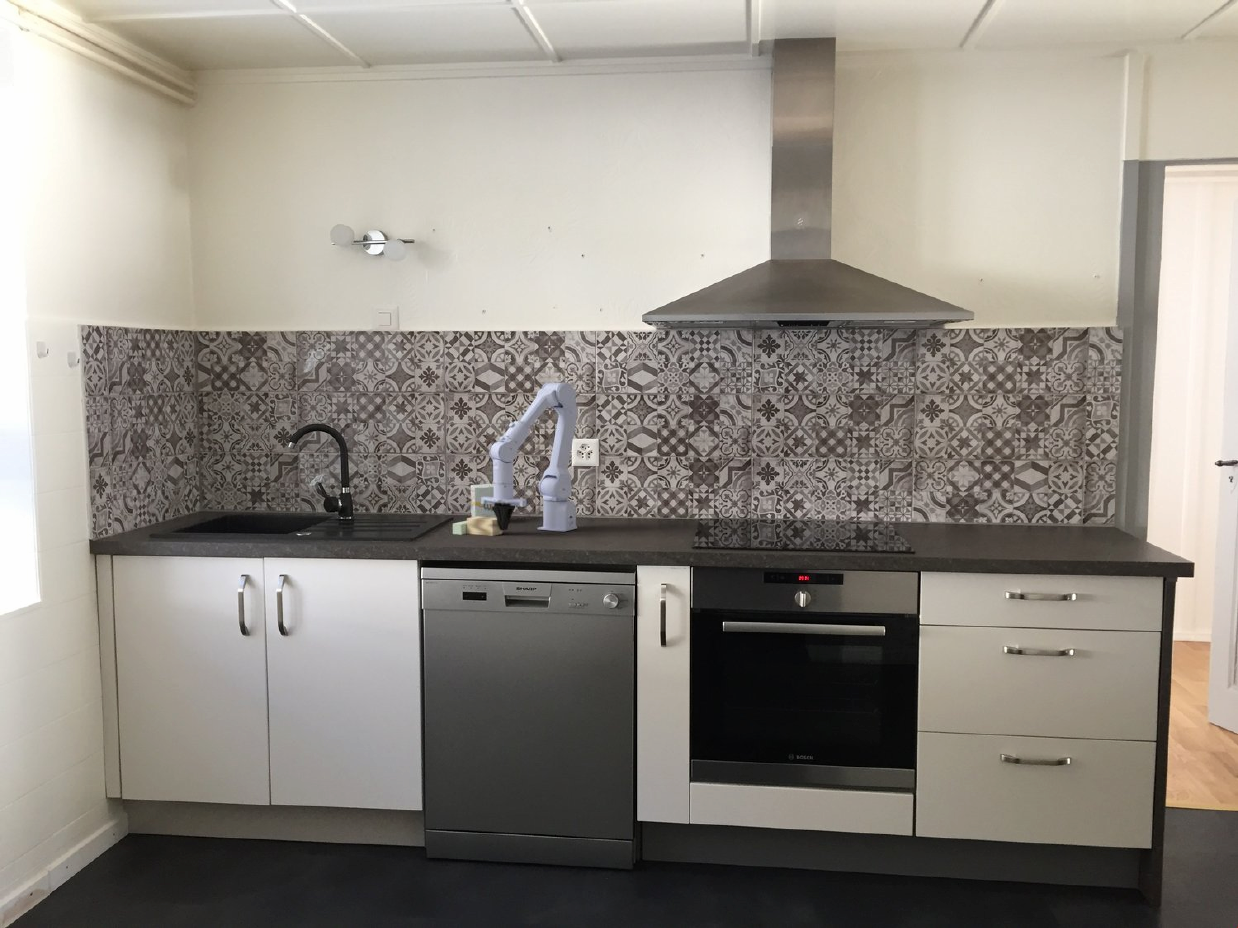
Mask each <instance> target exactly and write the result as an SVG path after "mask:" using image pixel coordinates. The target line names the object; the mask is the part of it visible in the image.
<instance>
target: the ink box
mask: <svg viewBox="0 0 1238 928" xmlns="http://www.w3.org/2000/svg"><path fill="white" fill-rule="evenodd" d="M481 497H494V483H482V484H471V485H470V518H471V517H476V516H480V517H493V518H497V517H496V515H495V513H494V511H493V510H492V507H493V506H494V504H481ZM497 503H502V502H497Z"/></svg>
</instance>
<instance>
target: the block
mask: <svg viewBox="0 0 1238 928" xmlns="http://www.w3.org/2000/svg"><path fill="white" fill-rule="evenodd" d="M466 521H467V533H466V534H467V535H479V536H490V537H493V536H498V535H501V534H503V530H500V527H499V523H498V520H497V518H493V517H480V516H476V517H471V516H470V517H467V518H466Z"/></svg>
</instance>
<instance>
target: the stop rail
mask: <svg viewBox="0 0 1238 928" xmlns="http://www.w3.org/2000/svg"><path fill="white" fill-rule="evenodd" d="M452 534H453V535H460V536H461V535H466V534H467V520H464V521H458V522H455V523H452Z"/></svg>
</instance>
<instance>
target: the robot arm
mask: <svg viewBox="0 0 1238 928" xmlns="http://www.w3.org/2000/svg"><path fill="white" fill-rule="evenodd" d="M577 394H578V393H577V391H576V389H575V388H574V387H573V385H572V384H571V383H569V382H566V381H564V382H551V381H548V382H546V383H544V384H543V385H542V386H541V389H539V390H538V391H537V394H536V397H534V400H533V401H532V403H531V404H530V406H529V407H528V408H527V409H526V411H525V412H524V414H523V416H522V417H520V418H521V419H520V420H515V421H513V422H510V423H509V425H508V427H509V428H508V429H507V430H506V431H505V433H504V434H503V435H502V436H500V437H499V441H497V442H494V443H493V444H492V446H491V447H490V451H488V453H489V457H490V459H491V460H492V467H493V469H492V470H493V471H492V472H493V474H492V475H493V477H492V479H493V483H492V484H494V497H481V504H494V506H493V507H492V510H493V511H494V513H495V515H496V517H497V520H498V523H499V527H500V530H502V531H507V530H508V528H509V524H510V520H511V519H512V515H513V513H514V511H515V509H516V507H520V508H521V507H527V499H525V498H517V497H514V461H515V459H516V458H517V457H518V450H519V448H520V447H521V446H522V444H523V443H524V442H525V440H526V439H527V438H528V437H529V436H530V434H531V430H530V427H532V425H533V424H534V423H535V422H536V420H537V419H539V417H540V416H541V415H542V414H543V413H544V412H545V410H546V409H548V408H553V409H554V411H555V412H556V413H557V415H558V419H557V424H556V429H555V435H554V440H553V445H552V451H551V456H550V463H549V466H547V468H546V469H545V471H544V472H543V475H542V478H541V479H540V481H539V483H538V490H539V491H538V492H539V493H540V495H541V496H542V499H543V500H542V501H543V502H542V503H543V505H542V508H543V509H542V510H543V512H542V515H543V519H542V520H543V522H542V523H543V525H542V526H539V527H537V530H543V531H551V532H552V531H553V532H567V531H572V530H575V529H578V526H577V509H576V508H577V507H576V504H575V502H573V501H571V500H569V497H570V496H571V494H572V493H573V492H572V491H573V485H572V475H571V473H570V472H569V470H568V468H569V463H570V457H571V451H572V446H573V441H574V436H575V430H576V425H577V419H578V414H579V411H578V406H577V401H576V398H577ZM497 502H501V503H497Z"/></svg>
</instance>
